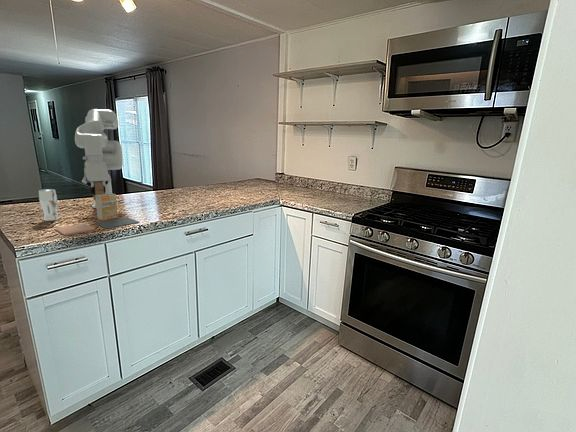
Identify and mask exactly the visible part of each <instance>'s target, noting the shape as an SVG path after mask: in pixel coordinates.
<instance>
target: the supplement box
mask: <svg viewBox="0 0 576 432" xmlns="http://www.w3.org/2000/svg"><path fill="white" fill-rule="evenodd" d="M95 198H96V208H95V209H96V215H97V216H96V217H97V220H99V221H100V222H101V221H107V220H113V219H119V218H118V216H119V215H118V214H119V213H118V205H117V204H118V203H117V194H116V193H113V192H112V193H109V194H101V195H95Z"/></svg>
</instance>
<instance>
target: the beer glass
mask: <svg viewBox="0 0 576 432" xmlns="http://www.w3.org/2000/svg"><path fill="white" fill-rule="evenodd" d="M38 200H39V203H40V207H41V210H42V212H43V220H44V221H45V222H53V221H57V220H60V217H59V215H58V197H57V192H56V189H53V188H46V189H45V188H44V189H39V190H38Z"/></svg>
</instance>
